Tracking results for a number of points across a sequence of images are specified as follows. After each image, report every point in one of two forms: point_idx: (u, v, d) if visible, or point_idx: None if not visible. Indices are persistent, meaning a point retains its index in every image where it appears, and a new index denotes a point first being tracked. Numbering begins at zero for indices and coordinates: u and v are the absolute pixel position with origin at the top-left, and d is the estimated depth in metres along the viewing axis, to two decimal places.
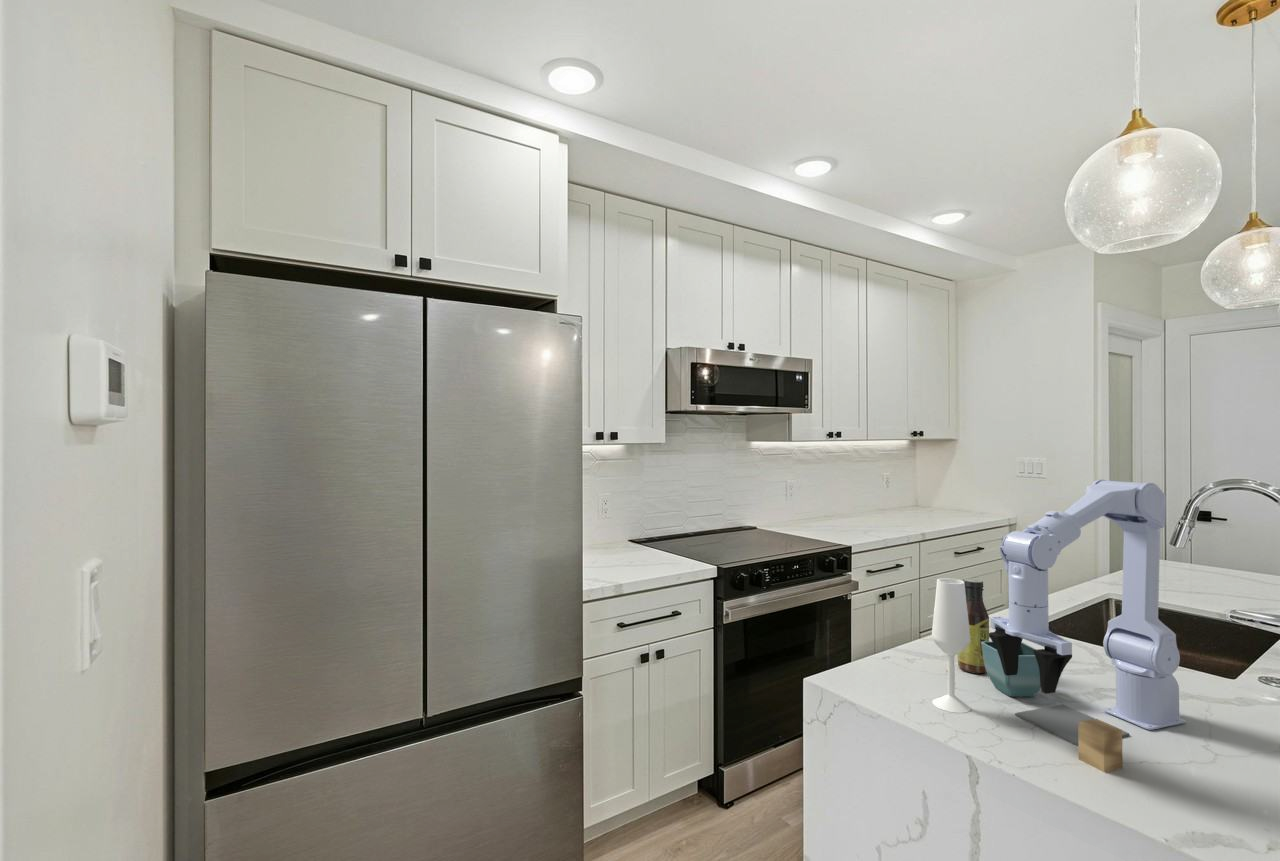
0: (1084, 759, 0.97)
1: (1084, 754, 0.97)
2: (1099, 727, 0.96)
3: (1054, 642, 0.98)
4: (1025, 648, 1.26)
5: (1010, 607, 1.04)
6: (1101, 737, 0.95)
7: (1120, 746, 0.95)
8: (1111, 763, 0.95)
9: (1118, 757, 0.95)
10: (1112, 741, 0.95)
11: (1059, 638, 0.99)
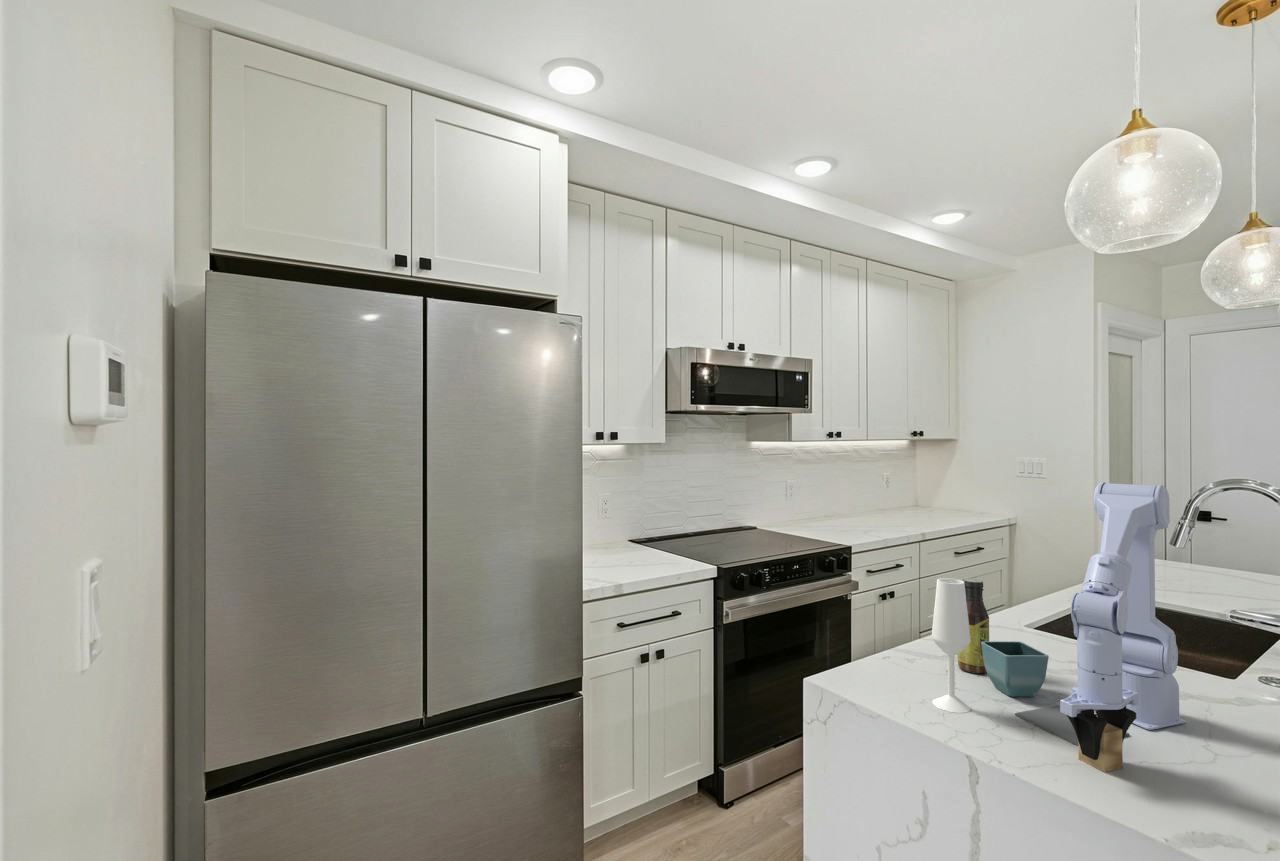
0: (1084, 759, 0.97)
1: None
2: None
3: None
4: (1025, 648, 1.26)
5: None
6: (1101, 737, 0.95)
7: (1120, 746, 0.95)
8: (1111, 763, 0.95)
9: (1118, 757, 0.95)
10: (1112, 741, 0.95)
11: None
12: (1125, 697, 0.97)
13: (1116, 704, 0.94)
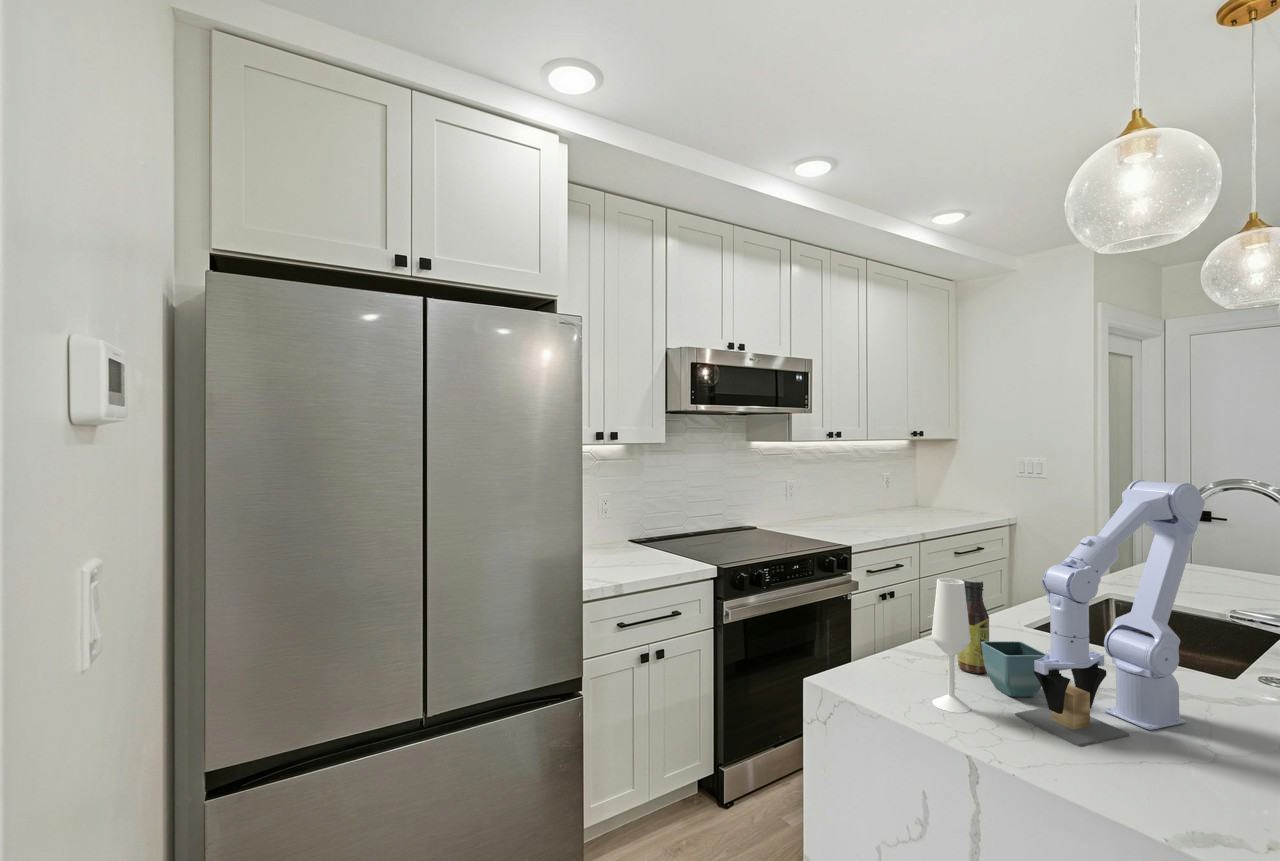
0: (1056, 719, 1.10)
1: (1056, 715, 1.10)
2: (1069, 691, 1.09)
3: (1038, 660, 1.09)
4: (1025, 648, 1.26)
5: None
6: (1071, 699, 1.07)
7: (1088, 707, 1.08)
8: (1080, 722, 1.08)
9: (1086, 716, 1.08)
10: (1081, 702, 1.08)
11: None
12: (1092, 658, 1.10)
13: (1083, 663, 1.07)
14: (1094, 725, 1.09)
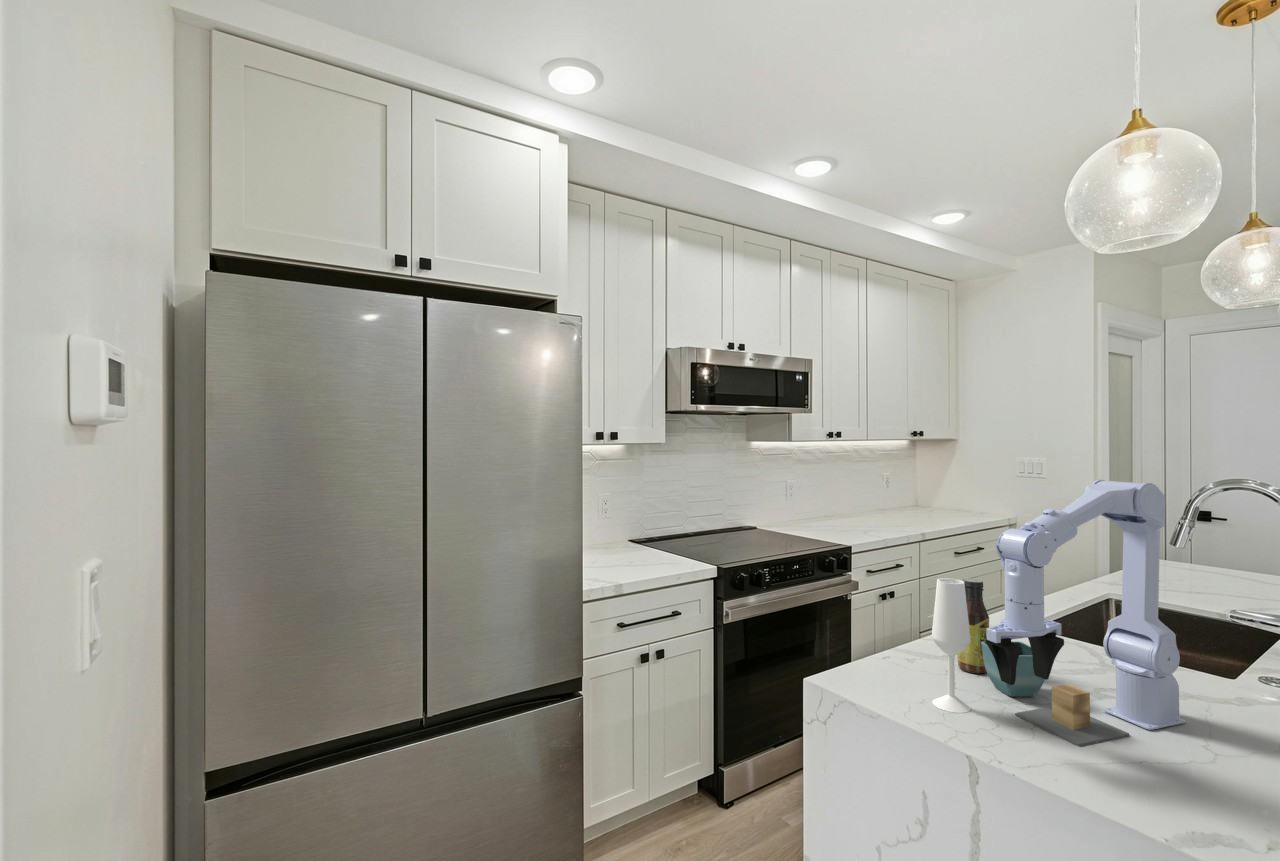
0: (1056, 719, 1.10)
1: (1056, 715, 1.10)
2: (1069, 691, 1.09)
3: (991, 628, 1.03)
4: (1025, 648, 1.26)
5: None
6: (1071, 699, 1.07)
7: (1088, 707, 1.08)
8: (1080, 722, 1.08)
9: (1086, 716, 1.08)
10: (1081, 702, 1.08)
11: None
12: (1048, 627, 1.04)
13: (1037, 631, 1.01)
14: (1094, 725, 1.09)
